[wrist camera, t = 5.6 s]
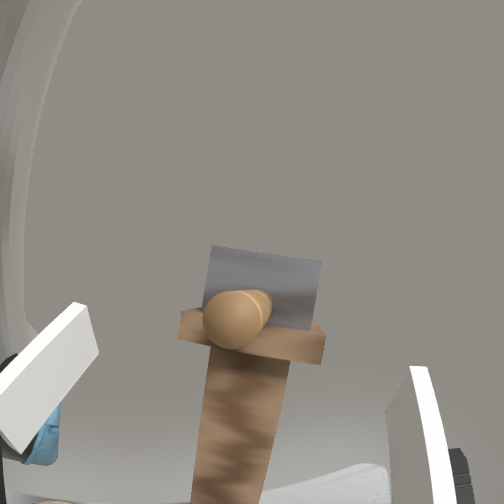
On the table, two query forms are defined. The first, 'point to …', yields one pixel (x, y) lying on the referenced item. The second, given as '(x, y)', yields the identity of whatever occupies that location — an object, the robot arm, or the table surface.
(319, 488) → the table surface
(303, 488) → the table surface
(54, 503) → the teacup with lid
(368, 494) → the table surface
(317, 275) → the mallet
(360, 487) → the table surface
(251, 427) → the stand
